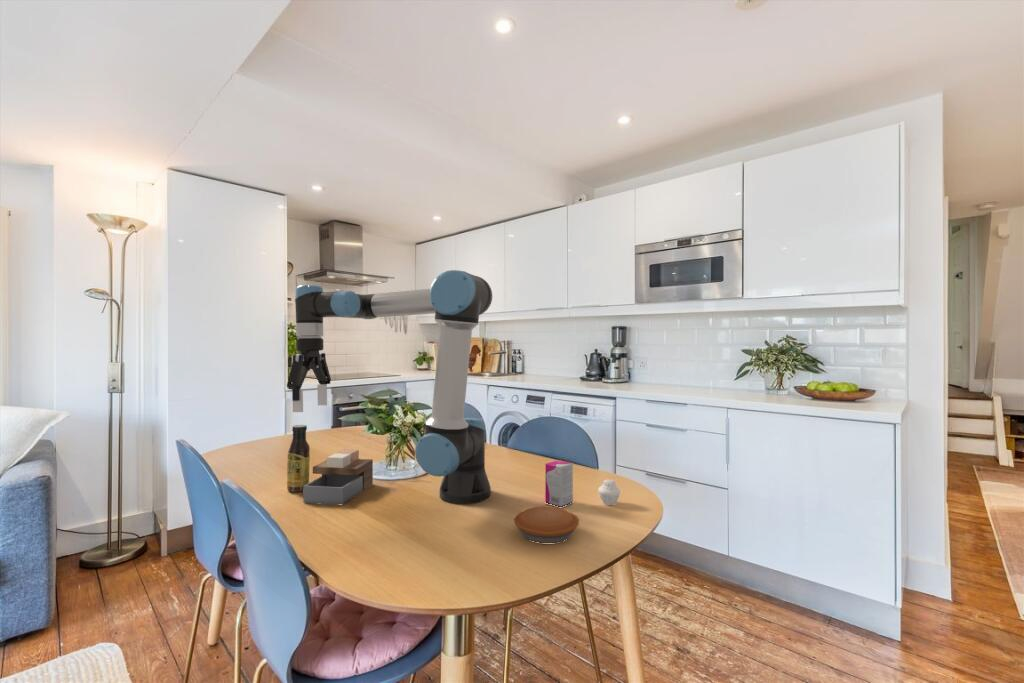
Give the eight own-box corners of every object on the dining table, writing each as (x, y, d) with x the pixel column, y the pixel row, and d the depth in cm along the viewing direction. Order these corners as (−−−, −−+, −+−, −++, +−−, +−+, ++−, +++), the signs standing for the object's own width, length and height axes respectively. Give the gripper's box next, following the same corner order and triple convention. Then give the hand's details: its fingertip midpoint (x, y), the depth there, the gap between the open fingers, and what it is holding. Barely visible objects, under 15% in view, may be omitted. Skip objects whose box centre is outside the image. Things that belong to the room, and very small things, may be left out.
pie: (514, 521, 120) (514, 502, 120) (575, 522, 120) (575, 502, 120) (512, 548, 105) (512, 526, 105) (582, 549, 105) (582, 527, 104)
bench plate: (372, 484, 151) (372, 459, 151) (356, 495, 140) (356, 468, 140) (332, 482, 153) (331, 457, 153) (312, 493, 142) (312, 466, 142)
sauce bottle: (282, 491, 144) (281, 426, 144) (298, 485, 150) (298, 423, 150) (298, 494, 142) (298, 428, 141) (314, 487, 147) (314, 424, 147)
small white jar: (623, 502, 134) (623, 478, 134) (615, 509, 129) (615, 483, 129) (603, 498, 137) (603, 474, 137) (594, 504, 132) (594, 479, 132)
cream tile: (350, 463, 146) (350, 453, 146) (342, 467, 141) (342, 457, 141) (335, 462, 147) (335, 453, 147) (327, 467, 142) (327, 457, 142)
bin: (362, 491, 144) (362, 475, 144) (342, 505, 132) (342, 488, 132) (326, 489, 146) (326, 473, 146) (303, 502, 134) (303, 486, 134)
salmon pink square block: (358, 459, 151) (358, 449, 151) (351, 463, 146) (351, 453, 146) (344, 458, 152) (344, 449, 152) (336, 462, 147) (336, 453, 147)
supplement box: (573, 503, 133) (573, 463, 133) (560, 509, 129) (560, 467, 129) (557, 498, 137) (557, 459, 137) (544, 503, 133) (544, 463, 133)
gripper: (319, 337, 154) (320, 402, 154) (272, 337, 129) (273, 415, 129) (341, 337, 153) (342, 402, 153) (298, 337, 128) (299, 415, 128)
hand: (310, 408), depth 141 cm, fingers open, 13 cm apart
